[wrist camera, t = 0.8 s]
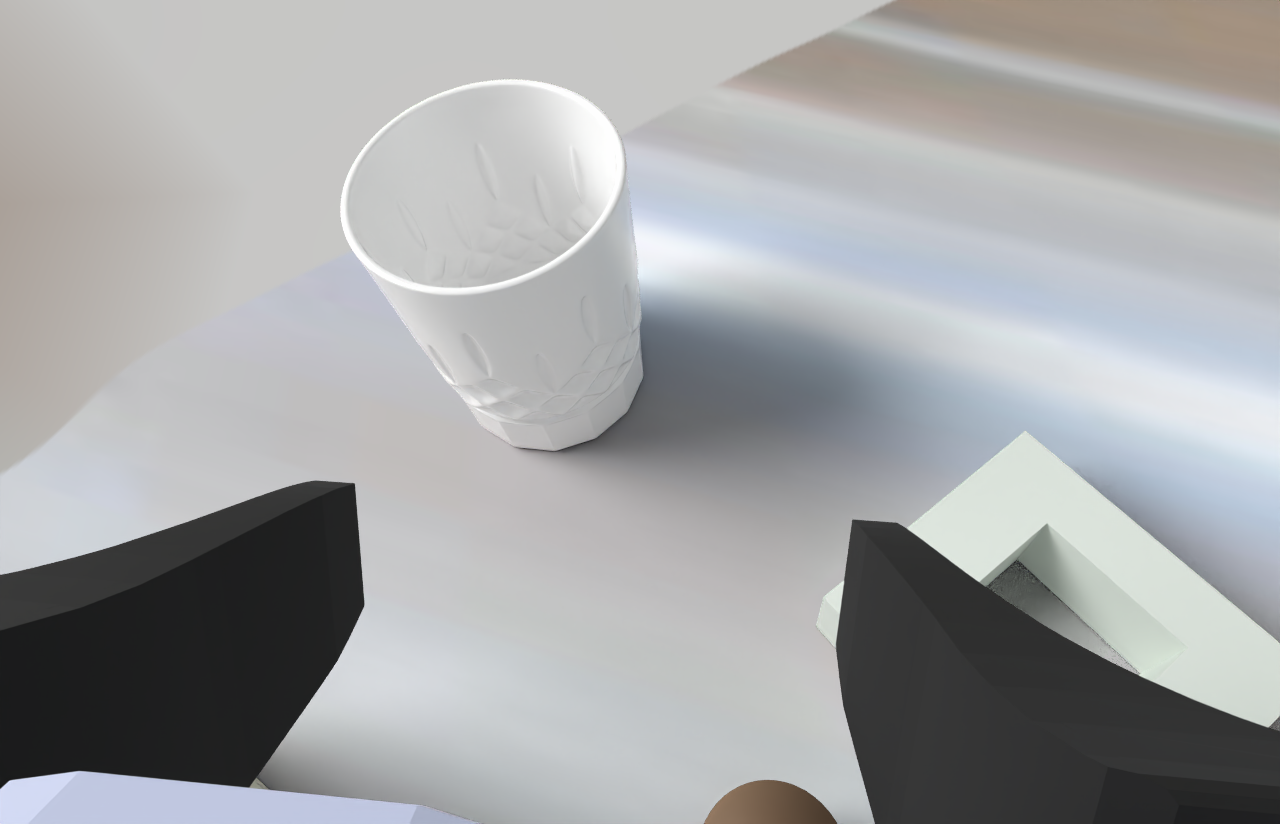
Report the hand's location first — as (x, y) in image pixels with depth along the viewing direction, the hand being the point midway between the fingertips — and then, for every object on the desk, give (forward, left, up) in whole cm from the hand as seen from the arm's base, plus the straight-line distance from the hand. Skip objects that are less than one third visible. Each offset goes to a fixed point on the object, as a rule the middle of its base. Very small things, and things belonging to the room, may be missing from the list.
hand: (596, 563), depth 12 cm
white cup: (+13, -4, -15) cm, 20 cm away
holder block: (-5, -9, -15) cm, 18 cm away
